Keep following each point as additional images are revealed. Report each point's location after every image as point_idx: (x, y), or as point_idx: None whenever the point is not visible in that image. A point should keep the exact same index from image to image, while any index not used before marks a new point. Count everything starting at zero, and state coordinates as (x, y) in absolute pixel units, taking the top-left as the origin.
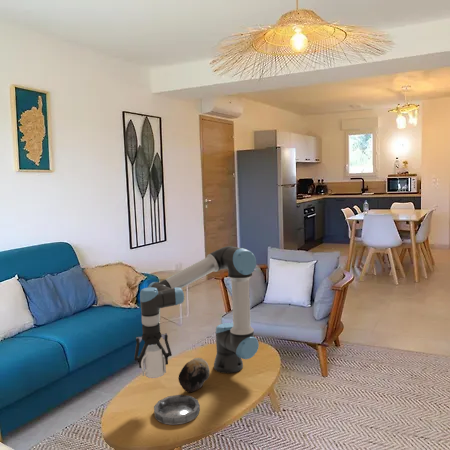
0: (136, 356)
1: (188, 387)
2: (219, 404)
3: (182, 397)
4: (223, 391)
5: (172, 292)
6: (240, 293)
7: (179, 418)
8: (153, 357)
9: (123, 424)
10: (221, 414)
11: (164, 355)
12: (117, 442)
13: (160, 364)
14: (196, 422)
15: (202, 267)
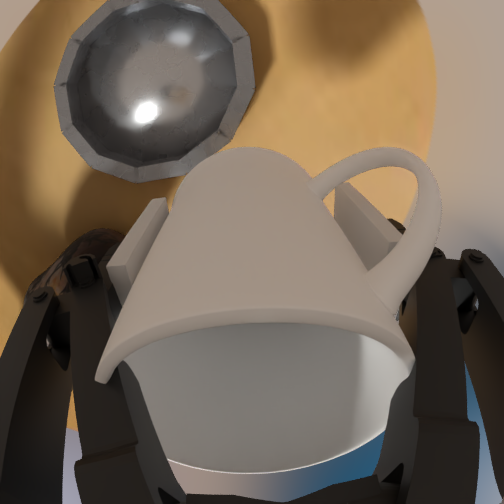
0: (489, 278)
1: (101, 229)
2: (16, 140)
3: (123, 161)
4: (17, 226)
5: None
6: None
7: None
8: (256, 227)
9: (378, 44)
10: (12, 75)
11: (97, 294)
12: None
13: (174, 211)
14: (85, 15)
15: None
